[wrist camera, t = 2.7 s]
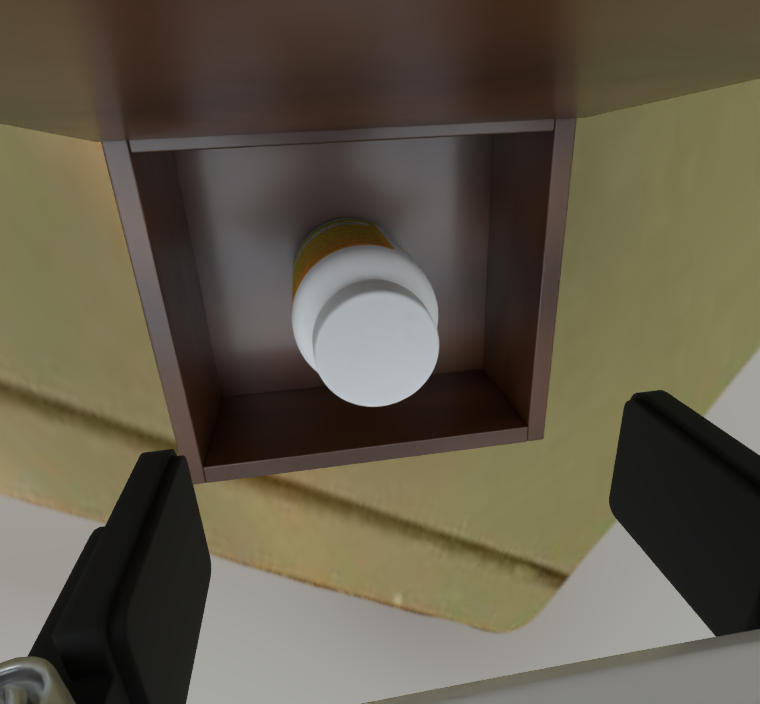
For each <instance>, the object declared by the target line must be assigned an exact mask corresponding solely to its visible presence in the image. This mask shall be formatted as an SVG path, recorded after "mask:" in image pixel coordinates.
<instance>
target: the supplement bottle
mask: <svg viewBox="0 0 760 704" xmlns="http://www.w3.org/2000/svg"><path fill="white" fill-rule="evenodd" d="M292 326H293V333H294V337H295V340H296V343H297V346H298V348H299V350H300V352H301V354H302V355H303V357H304V359H305V360H306V361H307V362H308V364H309V365H310V366H311V367H312V368H313V369H314V370H315V371H316V372H318V373H319V375H320V377H321V379H322V380H323V382H324V383H325V385H326V386H327V387H328V388H329V389H330V390H331V391H332V392H333V393H334V394H336V395H337V396H339V397H340V398H341V399H343V400H345V401H348V402H350V403H353V404H356V405H361V406H368V407H378V406H386V405H390V404H393V403H397V402H399V401H401V400H403V399H405V398H407V397H409V396H410V395H412V394H413V393H415V392H416V391H417V390H418V389H420V388H421V386H422V385H423V384H424V383H425V382H426V381H427V380H428V378H429V377H430V375H431V373H432V372H433V370H434V367H435V365H436V362H437V359H438V354H439V336H438V331H437V326H438V305H437V300H436V296H435V293H434V291H433V288H432V286H431V284H430V282H429V280H428V279H427V277H426V275H425V274H424V273H423V271H422V270H421V269H420V268H419V266H418V265H417V264H416V263H415V262H414V261H413V260H412V259H411V258H410V256H409V255H408V254H407V253H406V252H405V251H404V250H403V248H402V247H401V246H400V245H399V244H398V243H397V242H396V240H395V239H394V238H393V237H392V236H391V235H389V234H388V233H387V232H386V231H385V230H384V229H382V228H381V227H379V226H378V225H376V224H374V223H372V222H369V221H366V220H362V219H357V218H341V219H336V220H332V221H329V222H327V223H325V224H323V225H321V226H319V227H318V228H316V229H315V230H314V231H313V232H311V233H310V234H309V235H308V236H307V237H306V239H305V240H304V241H303V243H302V244H301V246H300V247H299V249H298V251H297V254H296V257H295V260H294V265H293V272H292Z"/></svg>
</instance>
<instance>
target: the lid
mask: <svg viewBox="0 0 760 704" xmlns="http://www.w3.org/2000/svg"><path fill="white" fill-rule="evenodd" d="M759 78H760V0H0V124H5V125H10V126H16V127H21V128H26V129H31V130H37V131H42V132H47V133H52V134H58V135H63V136H68V137H74V138H79V139H84V140H89V141H95V142H103V141H123V140H144V139H164V138H184V137H204V136H224V135H244V134H265V133H285V132H305V131H325V130H345V129H365V128H386V127H406V126H426V125H446V124H466V123H487V122H507V121H527V120H547V119H567V118H585V117H589V116H594V115H598V114H603V113H607V112H612V111H616V110H621V109H625V108H630V107H634V106H639V105H643V104H647V103H652V102H656V101H661V100H665V99H670V98H674V97H679V96H683V95H688V94H692V93H697V92H701V91H706V90H710V89H715V88H719V87H724V86H728V85H732V84H737V83H741V82H746V81H750V80H755V79H759Z"/></svg>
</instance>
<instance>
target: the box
mask: <svg viewBox="0 0 760 704" xmlns="http://www.w3.org/2000/svg"><path fill="white" fill-rule="evenodd" d="M576 119H577V118H567V119H547V120H527V121H507V122H487V123H466V124H446V125H426V126H406V127H386V128H365V129H345V130H325V131H305V132H285V133H265V134H244V135H224V136H204V137H184V138H164V139H144V140H123V141H103V142H101V144H102V148H103V152H104V156H105V160H106V164H107V168H108V172H109V176H110V180H111V184H112V188H113V192H114V196H115V200H116V204H117V208H118V212H119V216H120V220H121V224H122V228H123V232H124V236H125V240H126V244H127V248H128V252H129V256H130V260H131V264H132V268H133V272H134V276H135V280H136V284H137V288H138V292H139V296H140V300H141V304H142V308H143V312H144V316H145V320H146V324H147V328H148V332H149V336H150V340H151V344H152V348H153V352H154V356H155V360H156V364H157V368H158V372H159V376H160V380H161V384H162V388H163V392H164V396H165V400H166V404H167V408H168V412H169V416H170V420H171V424H172V428H173V432H174V436H175V440H176V444H177V448H178V452H179V456H182V455H184V456H185V457H186V459H187V462H188V466H189V470H190V474H191V479H192V483H193V484H200V483H206V482H207V483H209V482H217V481H225V480H232V479H240V478H248V477H256V476H264V475H271V474H279V473H287V472H295V471H302V470H310V469H318V468H326V467H333V466H341V465H349V464H357V463H364V462H372V461H380V460H388V459H395V458H403V457H411V456H419V455H426V454H434V453H442V452H450V451H457V450H465V449H473V448H481V447H488V446H496V445H504V444H512V443H519V442H526V441H534V440H541V439H543V438H544V428H545V418H546V409H547V399H548V390H549V380H550V370H551V361H552V351H553V341H554V332H555V322H556V312H557V303H558V293H559V283H560V274H561V264H562V254H563V245H564V235H565V226H566V216H567V206H568V197H569V187H570V177H571V168H572V158H573V148H574V139H575V129H576ZM341 218H357V219H362V220H366V221H369V222H372V223H374V224H376V225H378V226H379V227H381V228H382V229H384V230H385V231H386V232H387V233H388V234H389V235H391V236H392V237H393V238H394V239H395V240H396V242H397V243H398V244H399V245H400V246H401V247H402V248H403V250H404V251H405V252H406V253H407V254H408V255H409V256H410V258H411V259H412V260H413V261H414V262H415V263H416V264H417V265H418V266H419V268H420V269H421V270H422V271H423V273H424V274H425V275H426V277H427V279H428V280H429V282H430V284H431V286H432V288H433V291H434V293H435V296H436V300H437V305H438V326H437V331H438V336H439V354H438V359H437V362H436V365H435V367H434V370H433V372H432V373H431V375H430V377H429V378H428V380H427V381H426V382H425V383H424V384H423V385H422V386H421V388H420V389H418V390H417V391H416V392H415V393H413V394H412V395H410V396H409V397H407V398H405V399H403V400H401V401H399V402H397V403H393V404H390V405H386V406H378V407H368V406H361V405H356V404H353V403H350V402H348V401H345V400H343V399H341V398H340V397H339V396H337V395H336V394H334V393H333V392H332V391H331V390H330V389H329V388H328V387H327V386H326V385H325V383H324V382H323V380H322V379H321V377H320V375H319V373H318V372H316V371H315V370H314V369H313V368H312V367H311V366H310V365H309V364H308V362H307V361H306V360H305V359H304V357H303V355H302V354H301V352H300V350H299V348H298V346H297V343H296V340H295V337H294V333H293V326H292V272H293V265H294V260H295V257H296V254H297V251H298V249H299V247H300V246H301V244H302V243H303V241H304V240H305V239H306V237H307V236H308V235H309V234H310V233H311V232H313V231H314V230H315V229H316V228H318V227H319V226H321V225H323V224H325V223H327V222H329V221H332V220H336V219H341Z"/></svg>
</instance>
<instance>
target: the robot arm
mask: <svg viewBox="0 0 760 704" xmlns="http://www.w3.org/2000/svg"><path fill="white" fill-rule="evenodd" d="M609 504H610V508H611V511H612V513H613V515H614V516H615V518H616V519H617V520H618V521H619V522H620V523H621V525H622V526H623V527H624V528H625V529H626V531H627V532H628V533H629V534H630V535H631V536H632V538H633V539H634V540H635V541H636V542H637V544H638V545H639V546H640V547H641V548H642V549H643V551H644V552H645V553H646V554H647V555H648V557H649V558H650V559H651V560H652V561H653V563H654V564H655V565H656V566H657V567H658V568H659V570H660V571H661V572H662V573H663V574H664V576H665V577H666V578H667V579H668V580H669V581H670V583H671V584H672V585H673V586H674V587H675V589H676V590H677V591H678V592H679V593H680V594H681V596H682V597H683V598H684V599H685V600H686V602H687V603H688V604H689V605H690V606H691V607H692V609H693V610H694V611H695V612H696V613H697V614H698V616H699V617H700V618H701V619H702V621H703V622H704V623H705V624H706V625H707V626H708V628H709V629H710V630H711V631H712V632H713V633H714V635H715V636H716V637H713V638H707V639H702V640H697V641H691V642H685V643H680V644H674V645H669V646H664V647H659V648H652V649H647V650H642V651H636V652H631V653H626V654H620V655H615V656H609V657H604V658H598V659H593V660H588V661H582V662H577V663H572V664H566V665H561V666H556V667H550V668H545V669H540V670H534V671H529V672H524V673H519V674H513V675H508V676H503V677H497V678H493V679H487V680H482V681H476V682H471V683H466V684H461V685H455V686H451V687H445V688H440V689H435V690H430V691H425V692H419V693H414V694H409V695H404V696H399V697H394V698H389V699H384V700H378V701H373V702H368V703H363V704H760V455H758V454H757V453H755V452H753V451H752V450H751V449H749V448H748V447H746V446H745V445H743V444H742V443H740V442H739V441H738V440H736V439H734V438H733V437H732V436H730V435H729V434H727V433H726V432H724V431H723V430H721V429H720V428H718V427H717V426H716V425H714V424H712V423H711V422H710V421H708V420H707V419H705V418H704V417H702V416H701V415H699V414H698V413H696V412H695V411H694V410H692V409H691V408H689V407H688V406H686V405H685V404H683V403H682V402H680V401H679V400H677V399H676V398H674V397H673V396H672V395H670V394H669V393H667V392H665V391H663V390H657V391H649V392H641V393H636V394H634V395H633V396H632V397H631V399H630V400H629V401H627V402H626V404H625V406H624V411H623V417H622V423H621V429H620V435H619V441H618V447H617V454H616V460H615V466H614V472H613V478H612V484H611V490H610V496H609ZM210 577H211V560H210V555H209V551H208V546H207V542H206V538H205V534H204V529H203V525H202V521H201V517H200V513H199V508H198V504H197V500H196V496H195V491H194V487H193V483H192V479H191V474H190V470H189V466H188V462H187V459H186V457H185V456H184V455H182V456H177V455H176V453H175V451H174V450H173V449H170V450H162V451H154V452H146V453H142V454H141V455H140V457H139V459H138V461H137V463H136V465H135V467H134V469H133V471H132V473H131V475H130V477H129V479H128V481H127V483H126V485H125V487H124V489H123V491H122V493H121V495H120V497H119V499H118V501H117V503H116V505H115V507H114V509H113V511H112V513H111V516H110V518H109V520H108V522H107V524H106V526H104V527H99V528H97V529H95V530H94V532H93V533H92V534H91V536H90V538H89V539H88V541H87V543H86V545H85V547H84V549H83V551H82V553H81V555H80V557H79V559H78V560H77V562H76V564H75V566H74V568H73V570H72V572H71V574H70V576H69V578H68V580H67V582H66V584H65V585H64V588H63V590H62V591H61V593H60V595H59V597H58V599H57V601H56V603H55V605H54V607H53V609H52V610H51V612H50V614H49V616H48V618H47V620H46V622H45V624H44V626H43V628H42V630H41V632H40V634H39V636H38V638H37V639H36V641H35V643H34V645H33V647H32V649H31V651H30V653H29V655H28V657H19V658H14V659H11V660H8V661H5V662H2V663H0V704H186V700H187V695H188V690H189V684H190V679H191V674H192V669H193V664H194V659H195V654H196V649H197V644H198V639H199V633H200V628H201V623H202V618H203V613H204V608H205V602H206V598H207V592H208V587H209V582H210Z"/></svg>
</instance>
